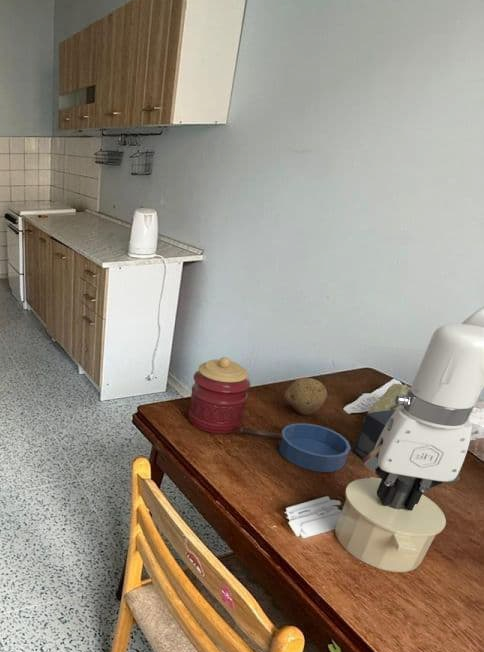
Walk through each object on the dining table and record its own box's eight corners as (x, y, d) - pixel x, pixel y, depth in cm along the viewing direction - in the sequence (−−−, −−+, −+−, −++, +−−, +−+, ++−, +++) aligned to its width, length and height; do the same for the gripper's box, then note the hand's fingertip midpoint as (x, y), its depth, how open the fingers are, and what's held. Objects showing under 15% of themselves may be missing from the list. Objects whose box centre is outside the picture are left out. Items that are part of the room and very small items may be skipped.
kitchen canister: (203, 438, 113) (215, 372, 105) (178, 411, 124) (187, 349, 116) (251, 431, 115) (267, 366, 107) (222, 405, 126) (234, 344, 118)
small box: (391, 445, 109) (407, 406, 104) (416, 462, 103) (434, 421, 98) (351, 450, 107) (365, 411, 102) (374, 468, 102) (390, 427, 97)
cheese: (392, 453, 110) (454, 414, 106) (373, 429, 109) (435, 389, 106) (358, 435, 124) (411, 401, 121) (341, 414, 124) (394, 379, 121)
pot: (402, 517, 88) (419, 481, 84) (438, 594, 74) (460, 555, 70) (327, 502, 92) (339, 468, 88) (345, 573, 78) (361, 535, 74)
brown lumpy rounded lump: (280, 417, 121) (289, 382, 116) (281, 402, 128) (289, 368, 123) (320, 425, 117) (331, 389, 112) (319, 408, 124) (329, 374, 119)
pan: (338, 443, 110) (343, 428, 108) (350, 477, 99) (356, 462, 97) (275, 433, 114) (279, 419, 112) (280, 465, 103) (285, 450, 101)
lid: (426, 492, 83) (440, 461, 80) (457, 549, 71) (476, 516, 68) (337, 476, 87) (347, 447, 84) (353, 527, 76) (366, 496, 73)
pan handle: (282, 438, 108) (284, 432, 107) (283, 442, 107) (284, 436, 106) (237, 431, 111) (239, 425, 110) (237, 434, 110) (239, 429, 109)
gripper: (379, 411, 69) (343, 506, 78) (518, 429, 64) (462, 529, 73) (367, 388, 76) (335, 479, 84) (492, 404, 70) (444, 499, 79)
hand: (394, 502), depth 79 cm, fingers closed on lid, 2 cm apart
